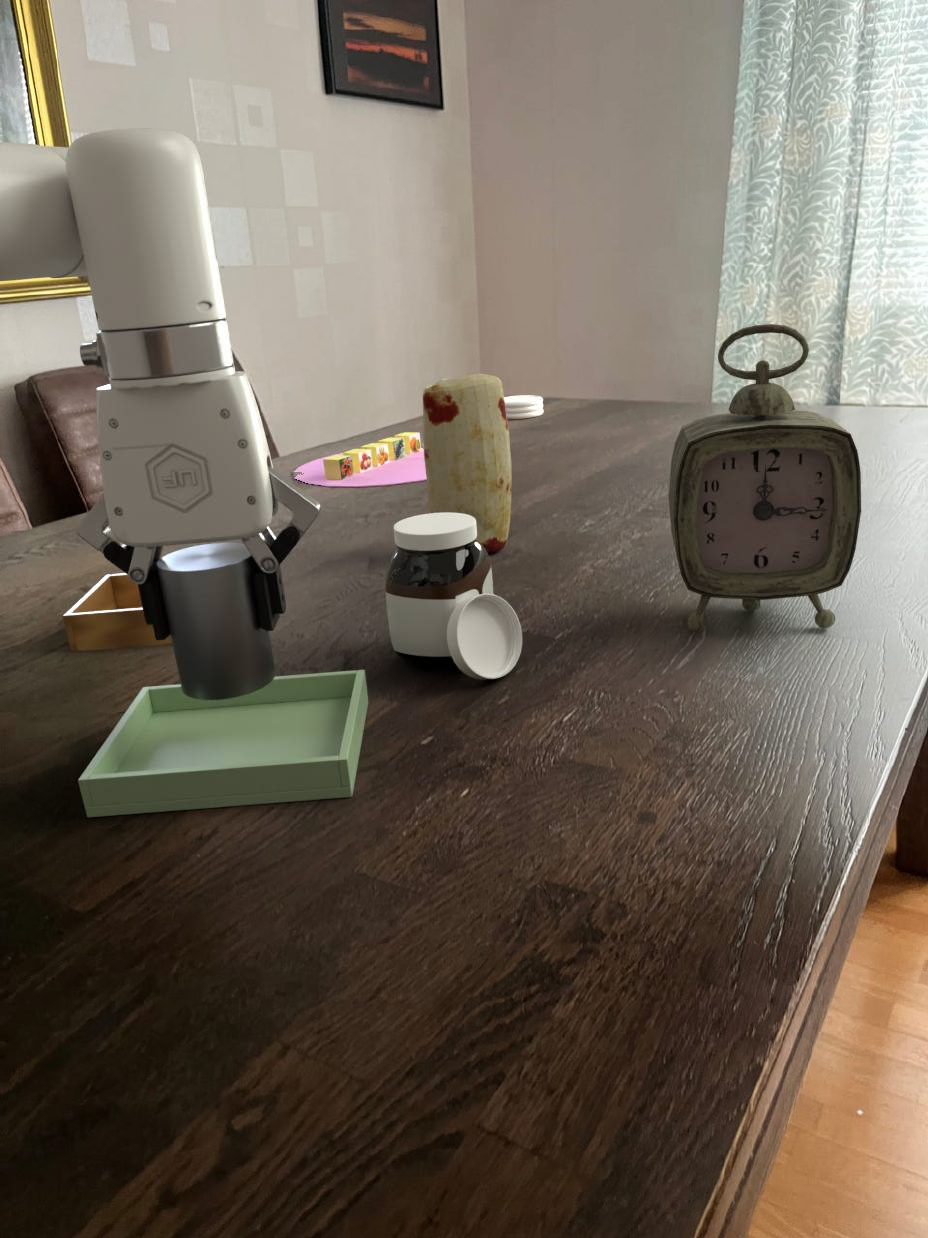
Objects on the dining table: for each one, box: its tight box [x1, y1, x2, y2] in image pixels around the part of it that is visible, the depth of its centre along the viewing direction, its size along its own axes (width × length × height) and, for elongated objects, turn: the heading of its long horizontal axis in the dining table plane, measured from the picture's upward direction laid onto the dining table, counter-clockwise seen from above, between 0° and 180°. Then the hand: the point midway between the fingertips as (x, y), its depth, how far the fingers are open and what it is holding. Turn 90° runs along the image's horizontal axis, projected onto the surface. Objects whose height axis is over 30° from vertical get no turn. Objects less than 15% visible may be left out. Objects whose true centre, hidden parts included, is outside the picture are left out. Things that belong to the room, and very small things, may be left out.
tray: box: [77, 669, 369, 818], centre depth 68 cm, size 17×14×3 cm
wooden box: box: [62, 572, 173, 653], centre depth 94 cm, size 12×12×4 cm
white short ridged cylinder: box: [504, 394, 544, 420], centre depth 199 cm, size 10×10×4 cm
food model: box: [422, 373, 513, 554], centre depth 107 cm, size 10×7×20 cm
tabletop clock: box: [668, 323, 862, 632], centre depth 81 cm, size 14×9×25 cm, turn 82°
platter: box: [293, 431, 427, 488], centre depth 162 cm, size 32×32×3 cm
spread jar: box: [384, 512, 523, 681], centre depth 80 cm, size 12×11×12 cm
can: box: [157, 541, 276, 700], centre depth 65 cm, size 6×6×9 cm
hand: (219, 626), depth 65 cm, fingers closed on can, 6 cm apart
